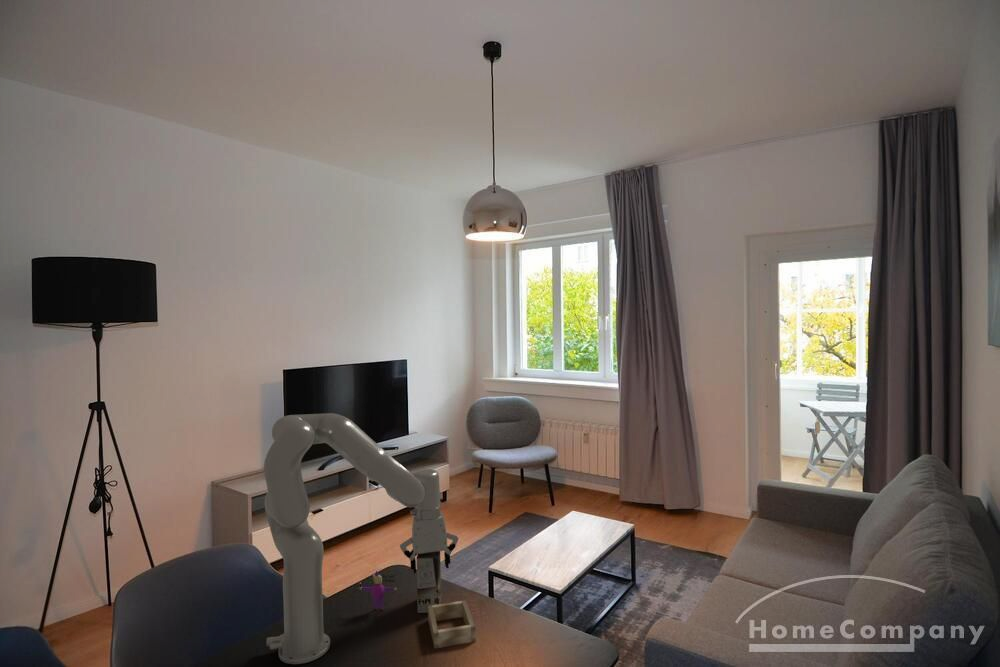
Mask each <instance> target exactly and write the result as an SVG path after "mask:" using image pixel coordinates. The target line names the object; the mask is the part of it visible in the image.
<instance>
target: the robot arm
mask: <svg viewBox="0 0 1000 667" xmlns="http://www.w3.org/2000/svg"><path fill="white" fill-rule="evenodd" d="M271 437H272V439H273V441H274V442H273V443H271V446H270V448H269V449H268V451H267V454H266V455H265V459H264V464H263V473H264V477H265V483H266V488H267V492H266V494H265V497H264V501H263V502H264V509H265V515H266V518H267V522H268V526H269V530H270V533H271V536H272V540H273V543H274V545H275V548H276V549H277V551H278V552H279V554H280V556H281V557H282V559H283V574H282V595H283V596H282V597H283V628H284V629H283V630H284V632H283V633H281V634H280V635H278V636H270V637H266V643H265V644H266V647H269V650H270V651H272V650H276V649H278V658H279V659H280V661H282V663H285V664H289V665H301V664H302V665H303V664H306V663H310V662H313V661H315V660H317V659H319V658H321V657H322V656H323V655H325V654H326V653H327V652H328V650H329V649H330V646H331V638H330V636H329V635H328V634H326V633H325V630H324V606H323V605H324V604H323V603H324V600H323V563H324V552H325V551H324V544H323V541H322V539H321V537H320V535H319V534H318V533H317V531H316V530H314V528H313V527H312V526H310V524H309V521H308V517H309V515H310V512H311V505H310V500H309V497H308V494H307V490H306V487H305V482H304V480H303V475H302V474H303V473H302V469H301V468H302V467H301V465H302V464H301V463H302V459H303V458H304V456H305V454H306V453H307V452H308V451H309V449H310V448H311V447H312V445H317V444H326V445H328V446H329V447H331V448H332V449H333V450H334V451H335V452H336V453H338V454H339V456H341V457H342V458H343V459H345V460H346V461H347V462H348V463H349V464H350V465H352V466H353V467H354V468H355V470H357V471H358V472H360V473H361V474H362V475H364V476H365V477H366V478H368V479H371V480H372V481H374V482H375V483H376V484H378V485H380V486H381V487H382V488H384V489H385V492H386V494H387V495H388V496H389V497H390V498H392V499H393V500H394V501H396V502H398V503H400V504H401V505H402V506H404V507H406V508H414V509H411V510H410V516H413V520H412V525H411V526H412V528H411V532H412V533H411V537H409V538H408V539H406V540H405V541H403V542H402V543H401V544H399V547H400V550H401V552H402V553H403V555H404V556H405V557H406V558H408V559H409V562H410V570H413V574H417V559H416V557H417V555H418V554H426V553H432V552H439V551H440V552H444V553H443V554H444V566H445V568H446V569H449V568H450V566H449V565H450V564H451V554H452V552H453V551H454V550H455V548H456V547H457V544H458V541H459V537H458V536H457V535H454V534H453V533H450V532H447V526H446V521H445V517H444V514H443V513H442V511H441V489H440V488H441V486H440V475H439V472H438V471H437V470H435V469H431V468H428V469H427V468H425V469H421V470H417V471H415V472H410V471H409V470H408V469H406V468H405V467H404V466H403V465H402V464H401V463H400V462H398V461H397V460H396V459H394V457H392V456H391V455H390V453H388V452H387V451H386V450H385V449H384V448H382V446H380V445H379V444H378V443H376V441H374V440H373V439H372V438H371V437H370V436H369V435H368V434H367V433H366V432H365V431H364V430H362V429H361V428H360V427H359V426H358V425H357V424H356V423H354V422H353V420H351V419H349V418H348V417H346V416H345V415H342V414H339V413H333V412H331V413H330V412H329V413H328V412H326V413H311V414H309V413H307V414H289V415H284V416H282V417H280V418H279V419H277V420H276V421H275V423H274V424H273V426H272V428H271ZM448 540H451V543H450V544H449V545H448ZM410 545H412V549H411V550H408V549H407V547H409V546H410Z"/></svg>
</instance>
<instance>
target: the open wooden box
mask: <svg viewBox="0 0 1000 667" xmlns="http://www.w3.org/2000/svg"><path fill="white" fill-rule="evenodd" d="M467 602H468V601H467V600H459V601H452V602H446V603H445V602H444V603H440V604H438V605H431V606H428V613H427V621H428V624H429V630H430V634H431V640H432V644H433V648H434V649H439V648H440V649H441V648H446V647H451V646H457V645H463V644H464V645H465V644H469V643H475V642H477V639H476V637H477V635H476V632H477V631H476V625H475V621H474V619H473V616H472V613H471V610H470V608H469V606H468V603H467ZM458 618H463V623H464V624H465V625H461V626H453V627H447V628H442V629H441V628H440V629H439V628H438V624H437V621H438V622H439V621H444V620H450V619H451V620H452V619H458Z"/></svg>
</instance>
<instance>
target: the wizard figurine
mask: <svg viewBox="0 0 1000 667" xmlns="http://www.w3.org/2000/svg"><path fill="white" fill-rule="evenodd" d="M394 577H395V575H388V576H387V574H386V575H382V576H381V575H380V574H379V573H378V571H377V570H376V571H375V573H374V574H372V579H373V582H374V584H373V585H372V587H369V586H367V587H363V586H362V582H359V590H360V591H361V590H370V594H371V597H372V598H373V599H374V610H376V611H377V610H378V609H379V607H378V600H380V610H381V611H384V609H385V608H384V602H383V600H384V599H383V598H384V597H385V593H386V590H388V591H390V590H393V591H397V590H398V588H397V587H396V586H395V587H385V586H384V585H383V584H382V583H386V582H388V583H394V582H395V579H394ZM385 578H386V579H385ZM387 578H388V579H387Z"/></svg>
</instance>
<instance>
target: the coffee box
mask: <svg viewBox="0 0 1000 667" xmlns="http://www.w3.org/2000/svg"><path fill="white" fill-rule="evenodd" d="M415 560H416V593H417V594H416V595H417V600H416V601H417V614H420V613H421V614H422V613H425V614H426V613H427V614H428V606H431V605H438V604H441V602H442V573H441V572H442V570H441V568H442V567H441V565H442V564H441V563H442V562H441V551H439V552H432V553H426V554H417V555H416V557H415Z"/></svg>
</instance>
